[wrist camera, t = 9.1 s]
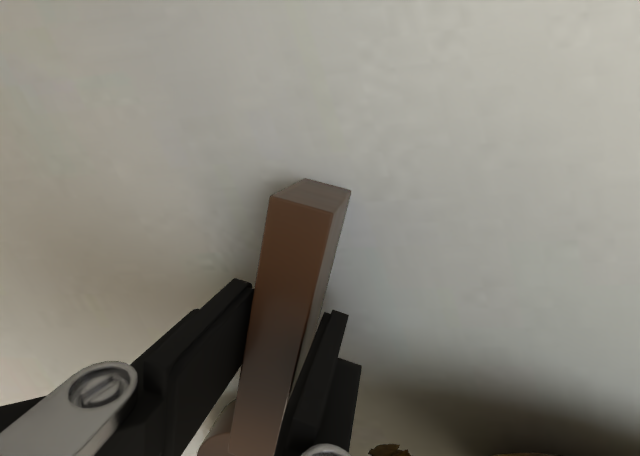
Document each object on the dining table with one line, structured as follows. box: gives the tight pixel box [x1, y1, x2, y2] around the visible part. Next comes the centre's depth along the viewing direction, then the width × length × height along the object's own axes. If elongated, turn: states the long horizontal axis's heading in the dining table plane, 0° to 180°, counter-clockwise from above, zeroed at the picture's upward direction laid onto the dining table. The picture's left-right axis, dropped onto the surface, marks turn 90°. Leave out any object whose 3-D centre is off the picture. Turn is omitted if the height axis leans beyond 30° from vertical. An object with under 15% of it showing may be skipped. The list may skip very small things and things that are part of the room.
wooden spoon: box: [197, 178, 351, 456], centre depth 11 cm, size 14×5×3 cm, turn 168°
